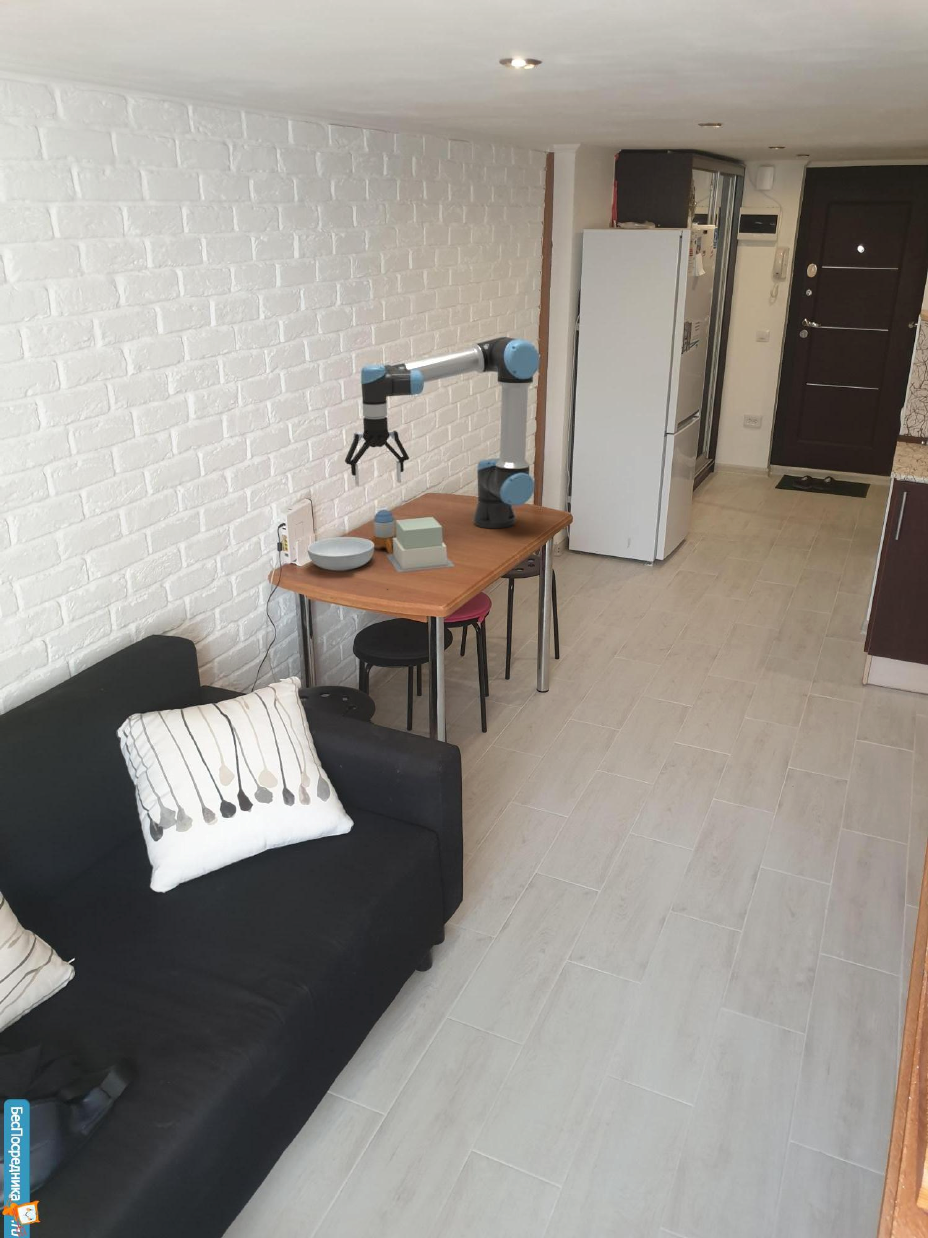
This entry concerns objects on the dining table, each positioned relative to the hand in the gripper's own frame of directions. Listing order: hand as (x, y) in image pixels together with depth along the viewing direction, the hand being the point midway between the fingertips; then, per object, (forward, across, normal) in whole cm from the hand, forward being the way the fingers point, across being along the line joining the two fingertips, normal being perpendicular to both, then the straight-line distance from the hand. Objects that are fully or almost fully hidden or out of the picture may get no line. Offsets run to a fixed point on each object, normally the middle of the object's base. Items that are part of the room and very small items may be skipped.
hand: (378, 483), depth 304 cm
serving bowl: (+23, +15, +11) cm, 30 cm away
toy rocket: (+23, 0, 0) cm, 23 cm away
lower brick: (+22, -9, +16) cm, 29 cm away
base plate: (+23, -9, +16) cm, 29 cm away
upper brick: (+16, -9, +16) cm, 24 cm away
